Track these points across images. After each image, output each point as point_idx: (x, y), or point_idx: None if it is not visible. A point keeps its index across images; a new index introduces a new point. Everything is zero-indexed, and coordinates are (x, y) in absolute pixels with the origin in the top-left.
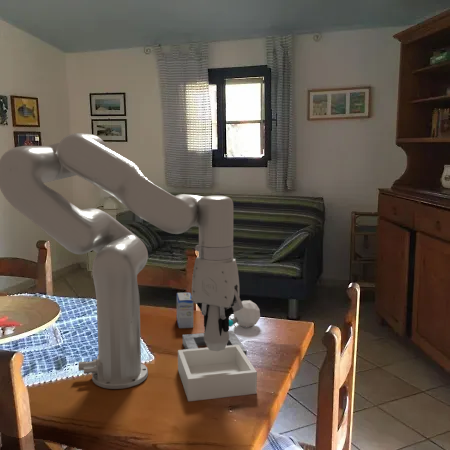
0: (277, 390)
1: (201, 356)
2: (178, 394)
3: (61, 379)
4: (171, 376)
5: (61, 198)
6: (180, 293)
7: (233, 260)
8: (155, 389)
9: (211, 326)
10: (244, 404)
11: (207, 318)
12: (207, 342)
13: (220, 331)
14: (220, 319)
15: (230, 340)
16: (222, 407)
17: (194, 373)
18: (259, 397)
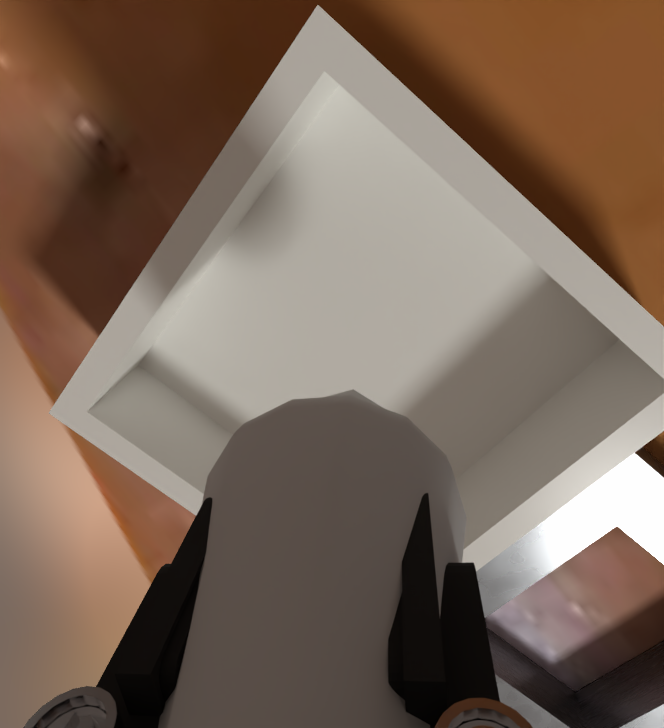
0: (73, 435)
1: (538, 452)
2: (451, 69)
3: None
4: (641, 234)
5: None
6: None
7: None
8: (639, 10)
9: (285, 540)
10: (84, 231)
11: (388, 654)
12: (348, 398)
13: (189, 530)
14: (117, 673)
15: (524, 700)
16: (142, 126)
17: (501, 317)
18: (83, 335)
